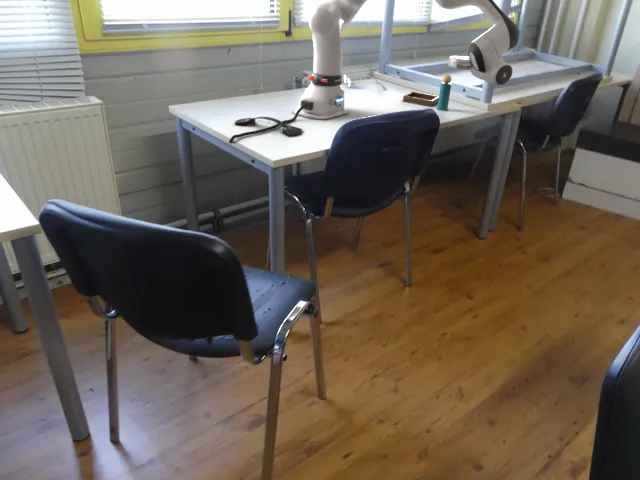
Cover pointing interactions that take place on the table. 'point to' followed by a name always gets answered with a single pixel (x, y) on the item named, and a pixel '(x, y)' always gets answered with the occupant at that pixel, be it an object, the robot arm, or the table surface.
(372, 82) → the eyeglasses
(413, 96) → the tray
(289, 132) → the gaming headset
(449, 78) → the toy figure
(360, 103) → the table surface
